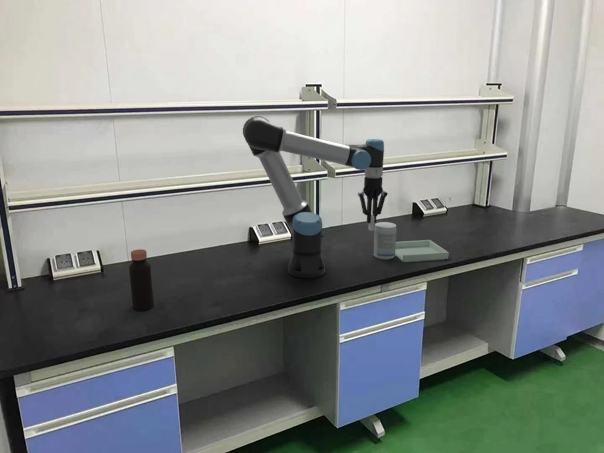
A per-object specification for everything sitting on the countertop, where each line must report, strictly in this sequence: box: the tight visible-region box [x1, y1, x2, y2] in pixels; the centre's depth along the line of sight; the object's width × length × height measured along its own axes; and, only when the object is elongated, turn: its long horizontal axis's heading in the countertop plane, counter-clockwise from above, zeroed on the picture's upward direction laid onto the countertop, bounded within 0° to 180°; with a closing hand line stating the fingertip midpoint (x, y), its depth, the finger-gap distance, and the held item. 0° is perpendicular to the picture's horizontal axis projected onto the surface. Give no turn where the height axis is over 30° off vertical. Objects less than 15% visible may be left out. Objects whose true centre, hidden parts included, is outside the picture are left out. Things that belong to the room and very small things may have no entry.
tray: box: [395, 239, 450, 264], centre depth 222 cm, size 21×18×3 cm
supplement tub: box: [373, 221, 397, 260], centre depth 216 cm, size 10×10×15 cm
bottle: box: [128, 248, 155, 312], centre depth 164 cm, size 7×7×20 cm
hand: (371, 229), depth 213 cm, fingers closed
